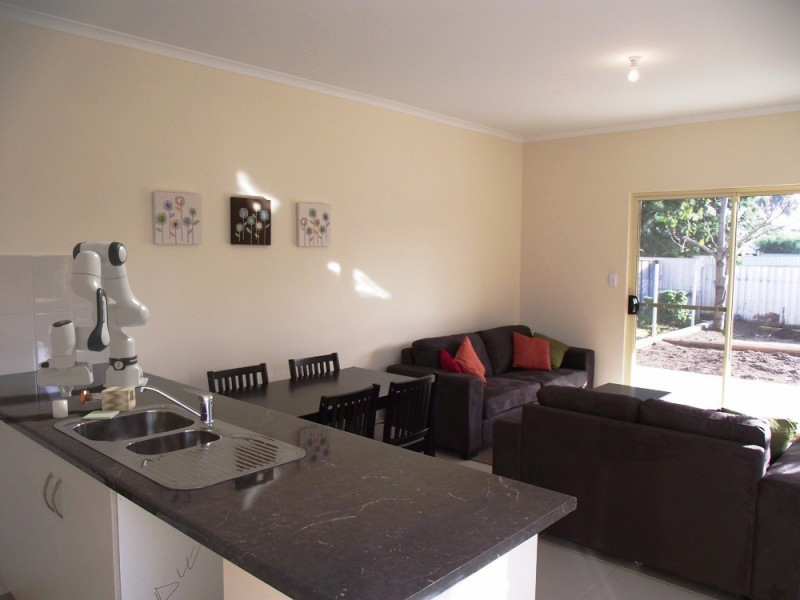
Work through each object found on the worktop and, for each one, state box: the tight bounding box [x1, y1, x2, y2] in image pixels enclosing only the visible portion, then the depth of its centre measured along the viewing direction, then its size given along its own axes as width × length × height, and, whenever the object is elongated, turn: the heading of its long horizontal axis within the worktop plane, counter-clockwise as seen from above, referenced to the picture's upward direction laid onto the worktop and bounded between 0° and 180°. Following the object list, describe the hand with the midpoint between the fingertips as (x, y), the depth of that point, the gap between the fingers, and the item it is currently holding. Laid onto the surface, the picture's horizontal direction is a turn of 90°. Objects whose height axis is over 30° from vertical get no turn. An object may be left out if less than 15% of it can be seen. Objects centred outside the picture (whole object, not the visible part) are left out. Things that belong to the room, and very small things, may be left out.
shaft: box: [79, 389, 102, 406], centre depth 248 cm, size 12×6×6 cm, turn 95°
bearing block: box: [100, 386, 136, 412], centre depth 249 cm, size 10×8×8 cm
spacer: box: [51, 398, 69, 419], centre depth 239 cm, size 5×5×6 cm
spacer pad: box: [82, 410, 121, 421], centre depth 239 cm, size 10×10×1 cm
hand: (66, 396), depth 247 cm, fingers closed
